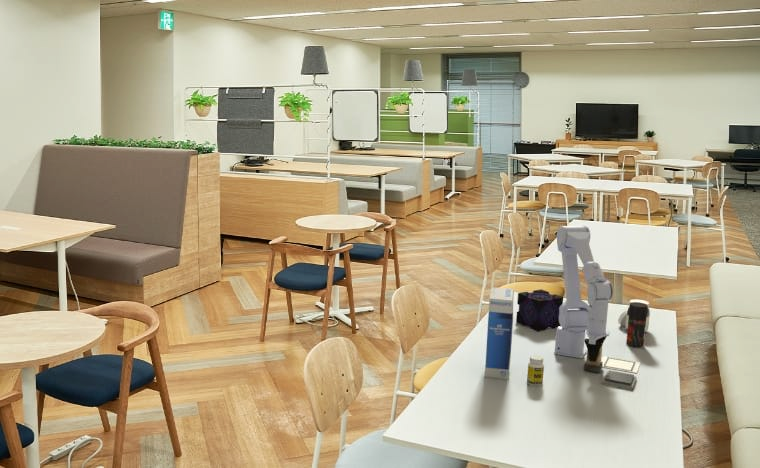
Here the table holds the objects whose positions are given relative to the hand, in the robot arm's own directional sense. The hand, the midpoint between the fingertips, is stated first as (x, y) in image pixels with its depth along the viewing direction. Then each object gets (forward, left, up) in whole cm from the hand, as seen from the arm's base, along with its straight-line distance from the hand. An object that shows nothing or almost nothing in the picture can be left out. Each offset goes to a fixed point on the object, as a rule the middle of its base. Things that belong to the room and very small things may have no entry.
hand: (593, 358), depth 232 cm
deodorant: (+9, +32, -4) cm, 33 cm away
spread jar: (+6, +49, -4) cm, 50 cm away
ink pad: (+9, -6, -4) cm, 11 cm away
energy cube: (-27, +37, -4) cm, 46 cm away
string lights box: (-27, -16, -4) cm, 32 cm away
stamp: (0, 0, -3) cm, 3 cm away
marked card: (+7, +9, -4) cm, 12 cm away
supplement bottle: (-14, -20, -4) cm, 25 cm away
